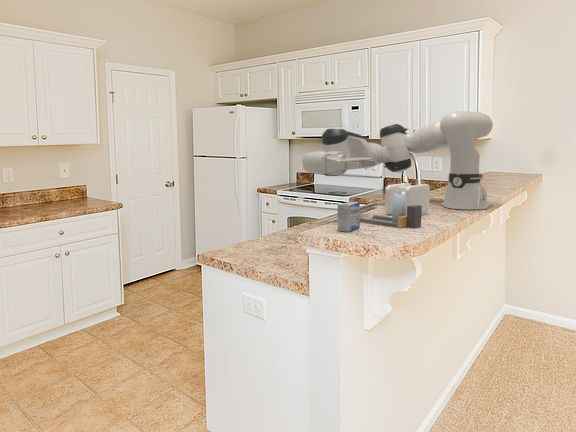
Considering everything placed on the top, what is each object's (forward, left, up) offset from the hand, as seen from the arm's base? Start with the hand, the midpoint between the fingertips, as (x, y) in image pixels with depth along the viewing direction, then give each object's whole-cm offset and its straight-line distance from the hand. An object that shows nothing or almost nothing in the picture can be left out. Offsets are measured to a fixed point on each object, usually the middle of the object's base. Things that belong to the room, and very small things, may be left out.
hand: (367, 164), depth 163 cm
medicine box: (+17, +6, -20) cm, 27 cm away
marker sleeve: (0, +13, -20) cm, 24 cm away
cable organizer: (-21, +4, -20) cm, 29 cm away
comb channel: (-1, +10, -20) cm, 22 cm away
